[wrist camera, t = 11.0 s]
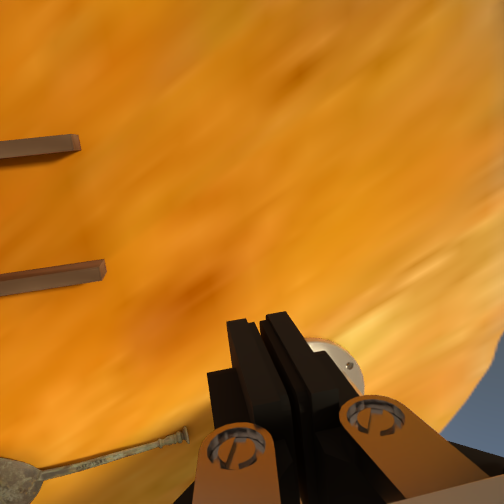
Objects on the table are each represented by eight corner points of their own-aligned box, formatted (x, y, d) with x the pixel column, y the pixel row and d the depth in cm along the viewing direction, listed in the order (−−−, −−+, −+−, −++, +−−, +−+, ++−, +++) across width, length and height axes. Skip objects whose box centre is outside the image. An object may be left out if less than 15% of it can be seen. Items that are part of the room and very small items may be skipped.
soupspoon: (-47, 451, 40) (-23, 503, 42) (-67, 480, 37) (-41, 535, 39) (183, 403, 42) (195, 454, 44) (183, 425, 39) (195, 480, 41)
